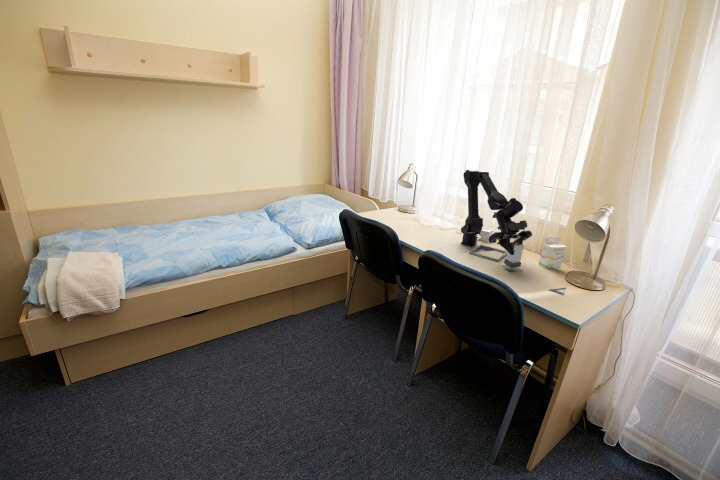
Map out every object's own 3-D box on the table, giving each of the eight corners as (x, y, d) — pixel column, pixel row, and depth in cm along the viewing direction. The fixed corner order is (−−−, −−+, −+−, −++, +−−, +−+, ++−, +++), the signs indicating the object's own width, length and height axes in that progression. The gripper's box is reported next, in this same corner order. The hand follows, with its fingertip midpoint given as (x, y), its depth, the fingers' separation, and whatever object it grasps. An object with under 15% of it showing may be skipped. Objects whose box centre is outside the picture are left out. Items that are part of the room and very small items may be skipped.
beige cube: (491, 239, 189) (493, 229, 186) (487, 242, 184) (489, 231, 182) (480, 236, 192) (482, 226, 190) (476, 239, 187) (478, 229, 185)
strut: (503, 263, 150) (508, 242, 146) (512, 262, 151) (517, 241, 147) (511, 267, 145) (515, 246, 142) (520, 266, 147) (525, 245, 143)
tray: (468, 256, 164) (469, 251, 163) (479, 248, 174) (480, 244, 173) (497, 264, 156) (498, 259, 155) (507, 256, 166) (508, 251, 165)
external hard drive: (539, 289, 136) (546, 279, 145) (562, 296, 131) (568, 285, 140) (540, 285, 135) (547, 275, 144) (563, 292, 130) (569, 281, 139)
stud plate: (498, 268, 151) (499, 265, 151) (512, 267, 153) (512, 264, 153) (509, 275, 145) (509, 272, 145) (522, 274, 147) (523, 271, 146)
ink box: (545, 271, 150) (553, 241, 145) (537, 267, 155) (544, 237, 149) (561, 270, 152) (569, 239, 147) (552, 265, 157) (560, 236, 152)
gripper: (497, 214, 141) (509, 248, 135) (534, 212, 146) (547, 245, 140) (483, 226, 151) (494, 258, 145) (518, 224, 156) (530, 255, 150)
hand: (516, 254), depth 145 cm, fingers closed on strut, 4 cm apart
